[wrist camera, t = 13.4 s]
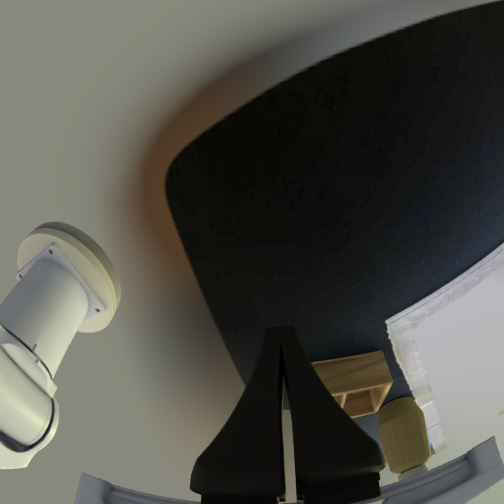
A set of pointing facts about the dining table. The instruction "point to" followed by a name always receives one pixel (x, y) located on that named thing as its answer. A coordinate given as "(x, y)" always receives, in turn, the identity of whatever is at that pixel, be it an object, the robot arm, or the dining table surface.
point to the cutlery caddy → (356, 381)
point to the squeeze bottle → (404, 437)
